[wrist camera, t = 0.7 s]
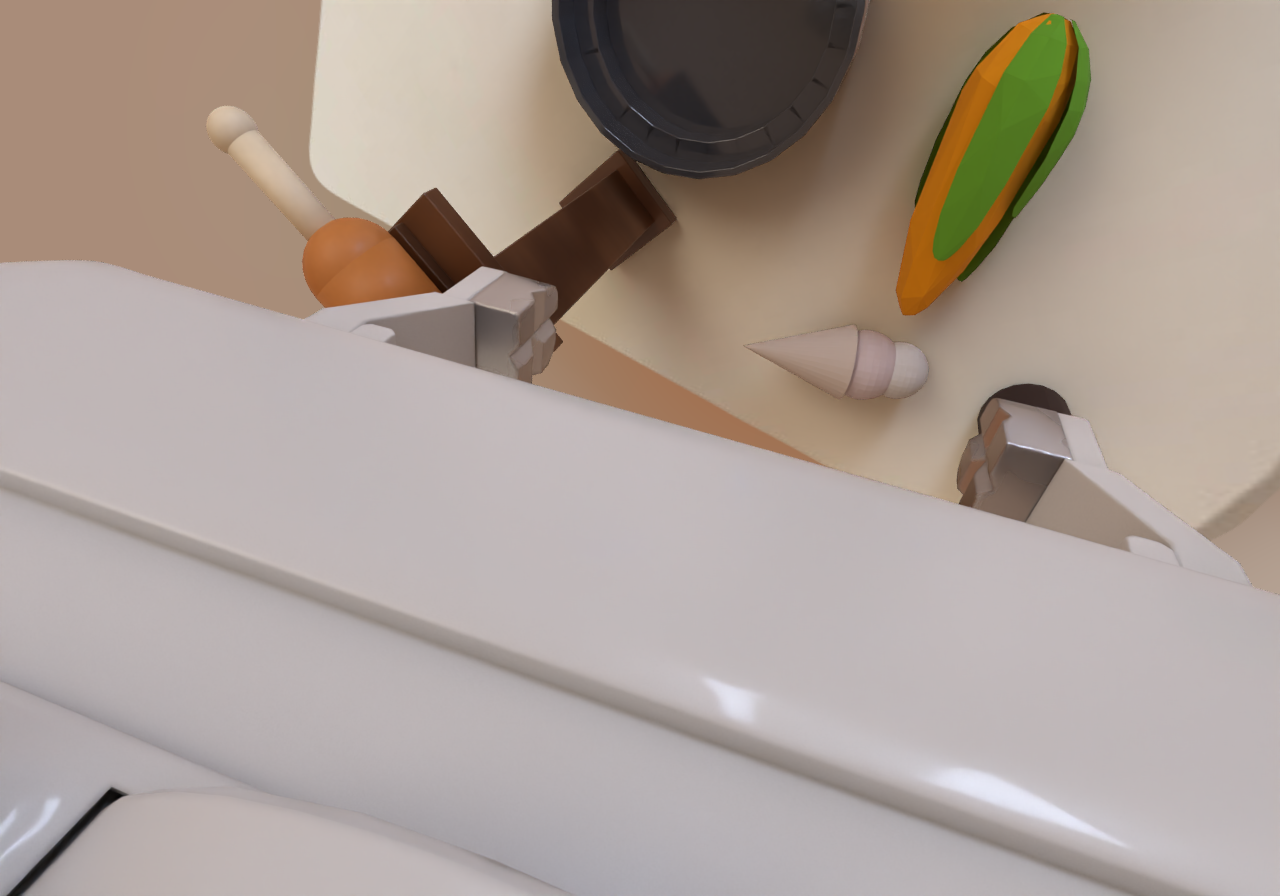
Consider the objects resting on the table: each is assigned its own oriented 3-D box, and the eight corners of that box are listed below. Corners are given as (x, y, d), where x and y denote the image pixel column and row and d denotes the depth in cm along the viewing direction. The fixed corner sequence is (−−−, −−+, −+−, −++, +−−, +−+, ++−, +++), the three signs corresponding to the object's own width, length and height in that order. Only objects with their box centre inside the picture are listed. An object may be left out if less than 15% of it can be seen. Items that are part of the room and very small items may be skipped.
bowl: (590, -194, 45) (553, -213, 40) (910, -174, 41) (910, -191, 36) (580, 138, 57) (550, 154, 52) (828, 179, 53) (820, 200, 48)
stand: (537, 170, 59) (333, 284, 38) (603, 106, 55) (414, 196, 34) (612, 267, 62) (461, 424, 41) (681, 215, 58) (551, 360, 37)
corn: (1143, 39, 37) (958, 357, 49) (1119, 31, 43) (959, 317, 55) (1004, 0, 38) (856, 319, 51) (999, -3, 44) (868, 284, 57)
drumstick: (233, 134, 35) (153, 155, 32) (275, 68, 33) (193, 82, 29) (443, 368, 40) (394, 411, 36) (495, 326, 37) (448, 368, 33)
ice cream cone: (744, 318, 61) (918, 345, 60) (733, 387, 61) (908, 416, 60) (752, 299, 55) (947, 329, 54) (740, 376, 54) (935, 407, 54)
